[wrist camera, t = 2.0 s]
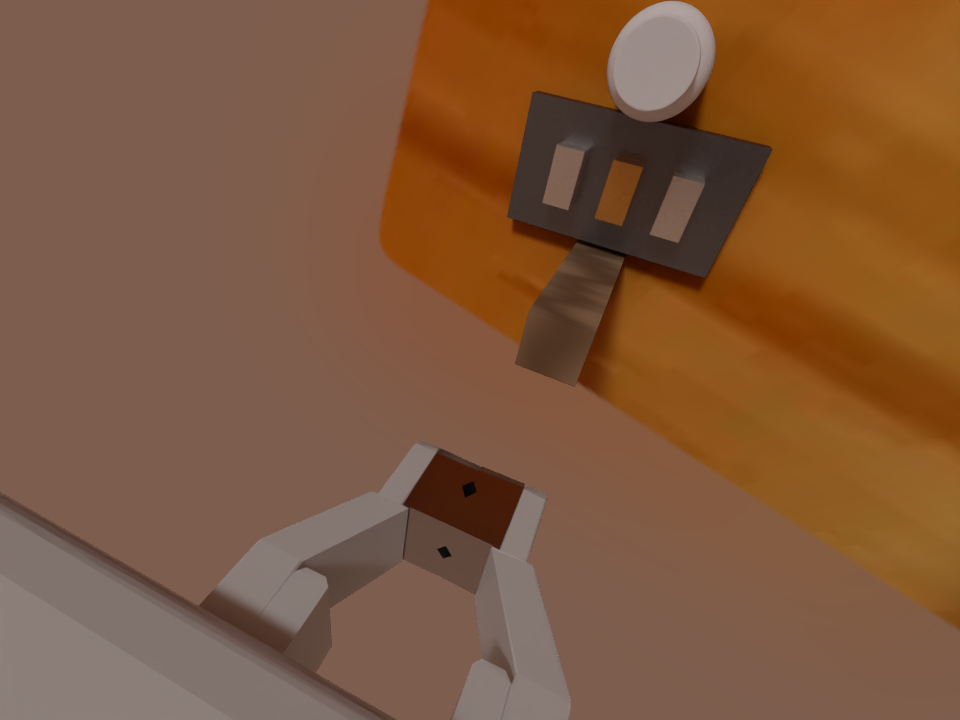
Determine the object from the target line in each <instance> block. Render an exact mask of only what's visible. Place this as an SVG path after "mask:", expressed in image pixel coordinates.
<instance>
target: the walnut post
mask: <svg viewBox="0 0 960 720" xmlns="http://www.w3.org/2000/svg"><path fill="white" fill-rule="evenodd" d="M625 256H626V254H625V253H622V252H619V251H615V250H612V249H609V248H606V247H602V246H599V245H596V244H593V243H589V242H586V241H583V240H580V239H579V240H578V241H577V242H576V244H575V245H574V247H573V248H572V250H571V251H570V253H569V254H568V255H567V257H566V258H565V260H564V261H563V263H562V264H561V266H560V267H559V268H558V270H557V271H556V273H555V274H554V276H553V277H552V279H551V280H550V281H549V283H548V284H547V286H546V287H545V289H544V290H543V292H542V293H541V294H540V296H539V297H538V299H537V300H536V302H535V303H534V305H533V306H532V307H531V309H530V310H529V313H528V317H527V321H526V325H525V328H524V332H523V336H522V339H521V343H520V347H519V350H518V354H517V358H516V361H515V364H516V365H519V366H522V367H524V368H527V369H529V370H532V371H535V372H537V373H540V374H543V375H545V376H547V377H550V378H553V379H555V380H558V381H561V382H563V383H566V384H568V385H571V386H574V387H575V385H576V383H577V380H578V377H579V375H580V372H581V370H582V367H583V365H584V362H585V359H586V357H587V354H588V352H589V349H590V347H591V344H592V341H593V339H594V336H595V334H596V331H597V329H598V326H599V323H600V321H601V318H602V316H603V313H604V310H605V308H606V305H607V303H608V300H609V297H610V295H611V292H612V290H613V287H614V284H615V282H616V279H617V277H618V274H619V272H620V269H621V266H622V264H623V261H624V259H625Z"/></svg>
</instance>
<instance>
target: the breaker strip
mask: <svg viewBox="0 0 960 720" xmlns="http://www.w3.org/2000/svg"><path fill="white" fill-rule="evenodd" d="M771 151H772V149H771V147H770V146H767V145H762V144H758V143H754V142H750V141H746V140H742V139H737V138H733V137H729V136H725V135H721V134H716V133H712V132H708V131H704V130H700V129H696V128H691V127H687V126H683V125H679V124H675V123H670V122H666V121H657V122H644V121H639V120H636V119H633V118H631V117H629V116H627V115H626V114H624V113H623V112H622V111H620V110H616V109H612V108H608V107H603V106H599V105H595V104H591V103H587V102H583V101H578V100H574V99H570V98H566V97H562V96H557V95H553V94H549V93H545V92H541V91H536V92H533V93H532V98H531V103H530V108H529V113H528V118H527V123H526V127H525V132H524V137H523V142H522V147H521V152H520V157H519V162H518V166H517V171H516V176H515V181H514V186H513V191H512V196H511V201H510V205H509V210H508V215H507V217H508V218H512V219H515V220H518V221H521V222H525V223H528V224H531V225H534V226H537V227H541V228H544V229H547V230H550V231H554V232H557V233H560V234H563V235H567V236H570V237H573V238H576V239H580V240H583V241H586V242H589V243H593V244H596V245H599V246H602V247H606V248H609V249H612V250H615V251H619V252H622V253H625V254H628V255H631V256H635V257H638V258H641V259H644V260H648V261H651V262H654V263H657V264H661V265H664V266H667V267H670V268H674V269H677V270H680V271H683V272H687V273H690V274H693V275H696V276H700V277H703V278H706V276H707V274H708V272H709V270H710V268H711V266H712V264H713V262H714V260H715V259H716V257H717V255H718V253H719V251H720V249H721V247H722V245H723V243H724V241H725V239H726V237H727V236H728V234H729V232H730V230H731V228H732V226H733V224H734V222H735V220H736V218H737V216H738V214H739V213H740V211H741V209H742V207H743V205H744V203H745V201H746V199H747V197H748V195H749V193H750V191H751V190H752V188H753V186H754V184H755V182H756V180H757V178H758V176H759V174H760V172H761V170H762V168H763V167H764V165H765V163H766V161H767V159H768V157H769V155H770V153H771Z"/></svg>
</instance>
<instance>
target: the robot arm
mask: <svg viewBox="0 0 960 720" xmlns="http://www.w3.org/2000/svg"><path fill="white" fill-rule="evenodd" d="M524 485H525V484H524V483H521V482H518V481H516V480H514V479H511V478H509V477H507V476H504V475H502V474H499V473H496V472H494V471H492V470H489V469H487V468H485V467H480V466H478V465H476V464H474V463H471V462H469V461H467V460H465V459H462V458H461V457H458V456H456V455H454V454H452V453H450V452H447V451H445V450H443V449H441V448H438V447H436V446H434V445H432V444H429V443H427V442H425V441H423V440H419V441H418V442H416V443H415V444H414V445H413V447H412V448H411V449H410V451H409V452H408V454H407V455H406V456H405V458H404V459H403V460H402V462H401V463H400V465H399V466H398V467H397V469H396V470H395V471H394V473H393V474H392V476H391V477H390V478H389V480H388V481H387V483H386V484H385V485H384V486H383V488H382V489H381V491H380V492H379V493H376V492H373V491H371V492H369V493H366V494H364V495H362V496H359V497H357V498H355V499H353V500H350V501H348V502H345V503H343V504H341V505H338V506H336V507H334V508H331V509H329V510H327V511H325V512H322V513H320V514H318V515H315V516H313V517H311V518H308V519H306V520H304V521H301V522H299V523H297V524H294V525H292V526H290V527H287V528H285V529H283V530H280V531H279V532H276V533H274V534H271V535H269V536H267V537H264V538H262V539H260V540H258V542H257V543H256V544H255V545H254V546H253V547H252V548H251V549H250V551H248V553H247V554H246V555H245V556H244V557H243V558H242V559H241V560H240V561H239V562H238V563H237V564H236V566H235V567H234V568H233V569H232V570H231V571H230V572H229V573H228V574H227V576H226V577H225V578H224V579H223V580H222V581H221V582H220V583H219V584H218V585H217V586H216V587H215V588H214V590H213V591H212V592H211V593H210V594H209V595H208V596H207V597H206V598H205V599H204V601H203V602H202V603H201V604H200V605H199V606H198V605H196V604H195V603H193V602H191V601H189V600H188V599H186V598H184V597H182V596H181V595H179V594H177V593H175V592H174V591H172V590H170V589H168V588H167V587H165V586H163V585H162V584H160V583H158V582H156V581H155V580H153V579H151V578H149V577H148V576H146V575H144V574H142V573H141V572H139V571H137V570H135V569H134V568H132V567H130V566H128V565H127V564H125V563H123V562H122V561H120V560H118V559H116V558H114V557H113V556H111V555H109V554H108V553H106V552H104V551H102V550H100V549H99V548H97V547H95V546H93V545H92V544H90V543H88V542H87V541H85V540H83V539H81V538H80V537H78V536H76V535H75V534H73V533H71V532H69V531H68V530H66V529H64V528H62V527H60V526H59V525H57V524H55V523H54V522H52V521H50V520H48V519H47V518H45V517H43V516H41V515H40V514H38V513H36V512H34V511H33V510H31V509H29V508H28V507H26V506H24V505H22V504H21V503H19V502H17V501H15V500H13V499H12V498H10V497H8V496H7V495H5V494H3V493H1V492H0V720H397V719H395V718H393V717H391V716H389V715H388V714H386V713H384V712H383V711H381V710H379V709H377V708H376V707H374V706H372V705H370V704H369V703H367V702H365V701H364V700H362V699H360V698H358V697H357V696H355V695H353V694H351V693H350V692H348V691H346V690H344V689H343V688H341V687H339V686H337V685H336V684H334V683H332V682H330V681H329V680H327V679H325V678H323V677H322V676H320V675H318V674H317V673H316V672H317V670H318V668H319V666H320V665H321V663H322V662H323V660H324V658H325V656H326V655H327V653H328V651H329V650H330V648H331V646H332V639H331V622H330V608H331V607H333V606H334V605H336V604H337V603H339V602H340V601H342V600H343V599H345V598H347V597H348V596H350V595H351V594H353V593H354V592H355V591H357V590H359V589H360V588H362V587H363V586H365V585H367V584H368V583H369V582H371V581H373V580H374V579H376V578H377V577H379V576H380V575H382V574H384V573H385V572H387V571H388V570H390V569H391V568H393V567H394V566H396V565H398V564H399V563H401V562H402V559H404V560H406V561H408V562H410V563H413V564H415V565H417V566H419V567H421V568H423V569H426V570H428V571H430V572H432V573H435V574H436V575H439V576H441V577H442V578H444V579H446V580H448V581H450V582H452V583H454V584H456V585H458V586H460V587H462V588H463V589H465V590H467V591H469V592H471V593H473V594H475V595H476V596H475V601H476V610H477V619H478V627H479V635H480V645H481V654H482V659H481V660H479V661H477V662H475V663H473V665H472V667H471V670H470V672H469V674H468V677H467V679H466V682H465V684H464V686H463V689H462V691H461V694H460V696H459V698H458V701H457V704H456V706H455V708H454V711H453V713H452V716H451V719H450V720H568V717H569V711H570V706H571V701H570V697H569V693H568V690H567V686H566V682H565V679H564V675H563V671H562V668H561V664H560V660H559V656H558V653H557V649H556V645H555V642H554V638H553V635H552V631H551V627H550V623H549V620H548V616H547V613H546V609H545V605H544V602H543V598H542V594H541V591H540V587H539V583H538V579H537V576H536V572H535V568H534V566H533V565H531V564H529V563H527V561H528V558H529V555H530V552H531V549H532V545H533V542H534V539H535V536H536V533H537V530H538V527H539V524H540V521H541V517H542V514H543V511H544V508H545V505H546V502H547V499H548V494H546V493H544V492H541V491H539V490H537V489H534V488H532V487H530V486H527V485H525V486H524ZM523 488H524V489H523ZM522 491H523V492H522Z"/></svg>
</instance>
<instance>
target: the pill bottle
mask: <svg viewBox="0 0 960 720" xmlns="http://www.w3.org/2000/svg"><path fill="white" fill-rule="evenodd" d="M714 60H715V39H714V35H713V31H712V29H711V26H710V24H709V22H708V21H707V19H706V18H705V16H704V15H703V14H702V13H701V12H700V11H699V10H697V9H696V8H695V7H693V6H691V5H689V4H687V3H684V2H679V1H666V2H660V3H657V4H654V5H652V6H649V7H647V8H645V9H644V10H642V11H641V12H639V13H638V14H637V15H636V16H634V17H633V18H632V19H631V20H630V21H629V22H628V23H627V24H626V26H625V27H624V28H623V29H622V31H621V32H620V34H619V35H618V37H617V39H616V41H615V43H614V45H613V47H612V50H611V53H610V56H609V60H608V66H607V82H608V88H609V92H610V94H611V97H612V99H613V101H614V102H615V104H616V105H617V107H618V108H619V109H620V110H621V111H622V112H623V113H624V114H626V115H627V116H629V117H631V118H633V119H636V120H639V121H644V122H657V121H662V120H665V119H668V118H671V117H673V116H675V115H677V114H679V113H680V112H682V111H683V110H685V109H686V108H687V107H688V106H690V105H691V104H692V103H693V102H694V101H695V99H696V98H697V97H698V96H699V94H700V93H701V91H702V90H703V88H704V87H705V85H706V83H707V81H708V79H709V77H710V75H711V72H712V69H713V65H714Z"/></svg>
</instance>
